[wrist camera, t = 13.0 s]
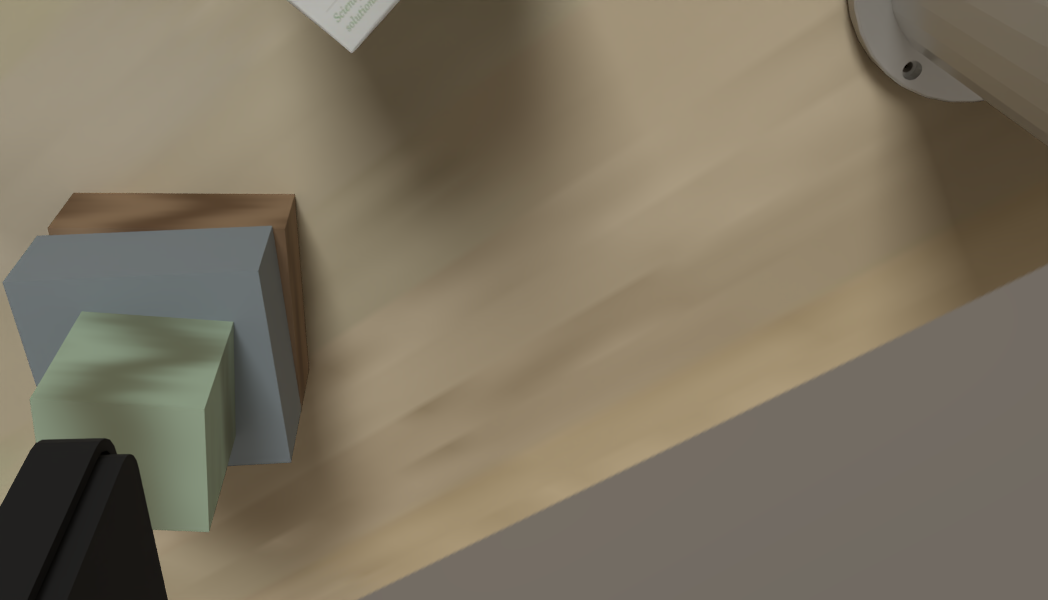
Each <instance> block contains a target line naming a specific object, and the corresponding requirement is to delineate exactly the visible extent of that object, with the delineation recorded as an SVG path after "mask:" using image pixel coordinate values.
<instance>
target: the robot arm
mask: <svg viewBox="0 0 1048 600" xmlns="http://www.w3.org/2000/svg"><path fill="white" fill-rule="evenodd" d="M848 6H849V13H850V18H851V21H852V23H853V26H854V29H855V32H856V35H857V37H858V40H859V42H860V43H861V45H862V46H863V48H864V49H865V51H866V53H867V54H868V56H869V57H870V59H871V60H872V61H873V62H874V63H875V64H876V65H877V66H878V67H879V68H880V69H881V70H882V71H883V72H884V73H885V74H886V75H887V76H889V77H890V78H891V79H893V80H894V81H895V82H896V83H898V84H899V85H900V86H902V87H904V88H906V89H908V90H910V91H912V92H915V93H917V94H919V95H921V96H924V97H926V98H931V99H936V100H941V101H946V102H978V101H984V100H985V101H986V102H988V103H989V104H991V105H992V106H993V107H995V108H996V109H997V110H999V111H1000V112H1002V113H1003V114H1004V115H1006V116H1007V117H1008V118H1010V119H1011V120H1013V121H1014V122H1015V123H1017V124H1018V125H1019V126H1021V127H1022V128H1023V129H1025V130H1026V131H1028V132H1029V133H1030V134H1032V135H1033V136H1034V137H1036V138H1037V139H1039V140H1040V141H1041V142H1043V143H1044V144H1045V145H1047V146H1048V0H848ZM907 63H909V65H908V67H906V68H905V69H903V68H904V66H905V65H906V64H907ZM0 600H168V598H167V594H166V589H165V585H164V580H163V576H162V571H161V567H160V562H159V558H158V553H157V548H156V544H155V539H154V535H153V530H152V526H151V521H150V517H149V512H148V507H147V503H146V498H145V494H144V489H143V485H142V480H141V476H140V471H139V467H138V463H137V460H136V458H135V457H134V455H132V454H117V452H116V449H115V446H114V444H113V443H112V442H111V440H110V439H107V438H86V439H46V440H40V441H39V442H37V443H36V444H35V445H34V446H33V448H32V449H31V450H30V452H29V454H28V456H27V458H26V460H25V461H24V463H23V465H22V467H21V469H20V471H19V473H18V474H17V476H16V478H15V480H14V482H13V484H12V486H11V487H10V489H9V491H8V493H7V495H6V497H5V499H4V501H3V502H2V504H1V506H0Z"/></svg>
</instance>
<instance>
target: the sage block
mask: <svg viewBox="0 0 1048 600" xmlns="http://www.w3.org/2000/svg"><path fill="white" fill-rule="evenodd" d="M30 405H31V411H32V418H33V425H34V432H35V438H36V443H37V442H39V441H40V440H46V439H86V438H107V439H110V440H111V442H112V443H113V444H114V446H115V449H116V452H117V454H132V455H134V457H135V458H136V460H137V463H138V467H139V471H140V476H141V480H142V485H143V489H144V494H145V498H146V503H147V507H148V512H149V517H150V521H151V526H152V530H173V531H196V532H209V531H210V527H211V523H212V520H213V516H214V512H215V509H216V505H217V502H218V498H219V494H220V491H221V487H222V484H223V480H224V476H225V473H226V469H227V466H228V462H229V458H230V455H231V451H232V448H233V444H234V440H235V437H236V424H235V372H234V323H233V322H230V321H216V320H201V319H186V318H172V317H157V316H142V315H128V314H113V313H98V312H84V311H81V313H80V315H79V317H78V318H77V320H76V322H75V323H74V325H73V327H72V328H71V330H70V332H69V334H68V335H67V337H66V339H65V340H64V342H63V344H62V345H61V347H60V349H59V350H58V352H57V354H56V356H55V357H54V359H53V361H52V362H51V364H50V366H49V367H48V369H47V371H46V373H45V374H44V376H43V378H42V379H41V381H40V383H39V384H38V386H37V388H36V389H35V391H34V393H33V395H32V396H31V398H30Z"/></svg>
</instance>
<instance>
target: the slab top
mask: <svg viewBox="0 0 1048 600" xmlns="http://www.w3.org/2000/svg"><path fill="white" fill-rule="evenodd" d="M3 285H4V288H5V291H6V294H7V297H8V301H9V304H10V307H11V310H12V313H13V316H14V319H15V322H16V325H17V328H18V331H19V334H20V337H21V340H22V343H23V346H24V350H25V353H26V356H27V359H28V362H29V365H30V368H31V371H32V374H33V377H34V380H35V383H36V386H38V384H39V383H40V381H41V379H42V378H43V376H44V374H45V373H46V371H47V369H48V367H49V366H50V364H51V362H52V361H53V359H54V357H55V356H56V354H57V352H58V350H59V349H60V347H61V345H62V344H63V342H64V340H65V339H66V337H67V335H68V334H69V332H70V330H71V328H72V327H73V325H74V323H75V322H76V320H77V318H78V317H79V315H80V313H81V311H84V312H98V313H113V314H128V315H142V316H157V317H172V318H186V319H201V320H216V321H230V322H233V323H234V372H235V424H236V437H235V440H234V444H233V448H232V451H231V455H230V458H229V462H228V466H236V465H254V464H271V463H289V462H291V460H292V455H293V450H294V444H295V439H296V434H297V429H298V423H299V418H300V413H301V404H300V398H299V391H298V385H297V379H296V372H295V366H294V360H293V354H292V347H291V341H290V335H289V328H288V322H287V316H286V309H285V303H284V297H283V291H282V284H281V278H280V272H279V265H278V259H277V253H276V247H275V240H274V234H273V228H272V226H253V227H230V228H207V229H184V230H161V231H138V232H115V233H93V234H70V235H46V236H37V237H36V238H35V239H34V241H33V242H32V243H31V245H30V246H29V248H28V249H27V250H26V252H25V253H24V254H23V256H22V257H21V258H20V260H19V261H18V262H17V264H16V265H15V266H14V268H13V269H12V270H11V272H10V273H9V274H8V276H7V277H6V278H5V280H4V281H3Z"/></svg>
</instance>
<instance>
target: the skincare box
mask: <svg viewBox="0 0 1048 600" xmlns="http://www.w3.org/2000/svg"><path fill="white" fill-rule="evenodd" d="M287 1H288V2H289V3H291V4H292V5H293V6H294V7H296V8H297V9H298V10H299V11H301V12H302V13H303V14H304V15H306V16H307V17H308V18H309V19H310V20H312V21H313V22H314V23H315V24H317V25H318V26H319V27H320V28H322V29H323V30H324V31H325V32H326V33H328V34H329V35H330V36H331V37H333V38H334V39H335V40H336V41H338V42H339V43H340V44H341V45H342V46H343V47H345V48H346V49H347V50H348V51H349V52H350V53H353V52H354V51H355V50H356V49H357V48H358V47H359V46H360V45H361V44H362V42H363V41H364V40H365V39H366V38H367V37H368V36H369V35H370V34H371V32H372V31H373V30H374V29H375V28H376V27H377V26H378V25H379V23H380V22H381V21H382V20H383V19H384V18H385V17H386V16H387V14H388V13H389V12H390V11H391V10H392V9H393V8H394V7H395V5H396V4H397V3H398V2H399V1H400V0H287Z"/></svg>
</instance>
